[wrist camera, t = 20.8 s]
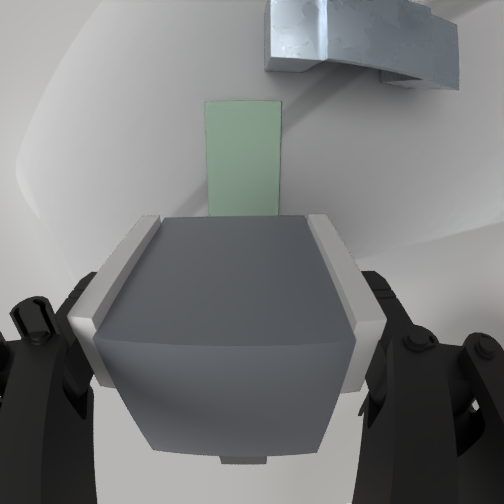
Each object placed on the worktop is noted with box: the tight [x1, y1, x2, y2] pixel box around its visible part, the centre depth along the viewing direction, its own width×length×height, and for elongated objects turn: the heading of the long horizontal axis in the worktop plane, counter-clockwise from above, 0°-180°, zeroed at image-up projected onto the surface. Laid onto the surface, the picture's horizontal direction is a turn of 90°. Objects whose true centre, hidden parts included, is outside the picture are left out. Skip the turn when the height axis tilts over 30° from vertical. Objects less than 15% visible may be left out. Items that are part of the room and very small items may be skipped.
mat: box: [205, 101, 281, 217], centre depth 29 cm, size 16×7×1 cm, turn 0°
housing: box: [265, 0, 459, 90], centre depth 18 cm, size 6×15×10 cm, turn 90°
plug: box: [92, 216, 356, 464], centre depth 13 cm, size 17×6×8 cm, turn 1°
